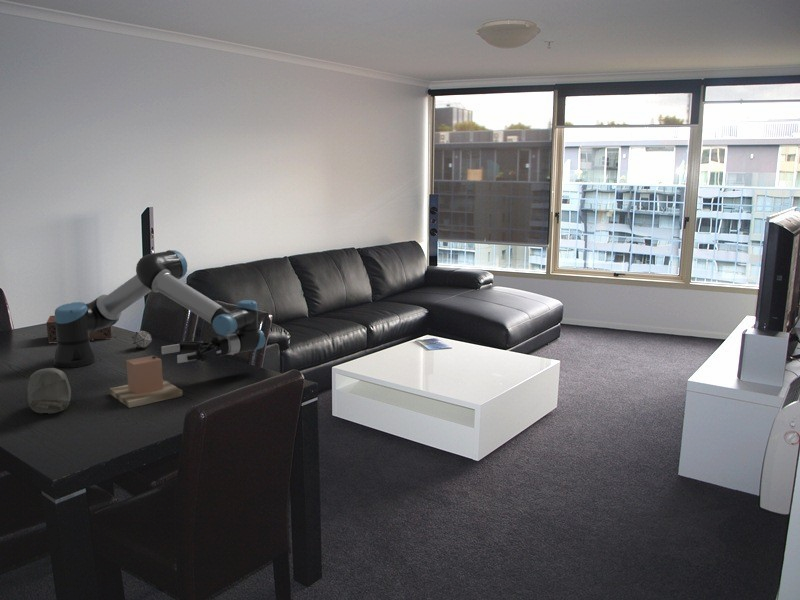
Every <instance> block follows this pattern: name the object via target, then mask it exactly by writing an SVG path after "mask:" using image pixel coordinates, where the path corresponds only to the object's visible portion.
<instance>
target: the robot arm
mask: <svg viewBox="0 0 800 600" xmlns="http://www.w3.org/2000/svg"><path fill="white" fill-rule="evenodd" d="M135 271H136V272H135V273H136V274H135V275H134V276H132V277H131V278H129V279H128V280H127V281H126V282H124V283H123V284H121V285H119V286H118V287H117V288H116V289H114V290H113V291H111V292H110V293H109V294H102V295H99V296H98V297H96V298H95V299H94V300H92V301H90V302H88V303H85V302H80V301H79V302H78V301H77V302H76V301H74V302H71V303H65V304H62V305H59V306H58V307H56V308H55V310H54V316H55V318H54V320H55V327H56V336H57V343H56V344H57V345H56V351H55V354H54V358H53V365H54V366H55V365H56V366H55V367H57V366H58V367H57V368H62V367H66V368H67V369H68V368H69V367H71V368H78V367H84V366H88V365H89V366H90V365H92V364H95V362H96V361H97V355H96V353H95V350H94V349H93V346H92V344H91V341H90V338H89V333H90V332H93V331H97V330H100V329H103V328H108V327H111V326H112V327H113V326H114V325H115V324H116V323H118V321H119V320H120V318H121V316H122V312H124V311H125V310H126V309H128V308H129V307H130V306H132V305H133V304H135V303H136V302H138V301H139V300H140V299H142V298H144V297H145V296H146V295H148V294H149V293H151V292H154V293H160V294H162V295H164V296H166V297H167V298H169V300H172V301H173V302H176V303H177V304H179V306H181V307H184V308H185V309H186V310H188V311H190V312H191V313H193V314H195V315H197V316H198V317H199V318H201V319H203V320H204V321H206V322H208V323H209V324H211V325H212V329H213V330H214V332H215V334H217V336H213V338H212V339H211V341H210V342H209V341H206V340H204V339H203V340H194V341H193V340H192V341H189V340H188V341H177V344H169V345H163V346H161V347H160V349H161V350H160V351H161V352H160V353H161V355H166V354H167V355H168V354H173V353H181V351H192V352H189V353H181V354H177V355H176V362H177V364H182V363H186V362H194V361H201V362H204V361H207V360H209V359H212V358H214V357H225V356H227V355H229V356H230V355H231V356H234V355H235V354H239V353H240V354H241V353H245V352H252V351H256V350H260V349H263V348H264V346H265V344H266V337H265V333H264V331H262V330H261V329H259V309H258V302H257V301H256V300H253V299H243V300H239V301H238V302H237V305H236V309H233V310H230V309H227V308H226V307H224V306H222V305H220V304H219V303H218V302H216V301H214V300H212V299H211V298H209V297H208V296H206V295H204V294H203V293H201V292H200V291H198V290H197V289H194V288H193V287H192V286H189V285H188V284H187V283H185V282H183V281H182V280H180V279H182V278H184V277H185V276H186V275H187V272H188V261H187V260H186V257H185V256H184V254H182V253H181V252H179V251H177V250H173V249H172V250H170V249H169V250H166V251H162V252H161V251H160V252H154V253H148V254H145V255H144V256H142V257H141V258H139V260H138V262H137V263H136V266H135ZM66 368H65V369H66Z"/></svg>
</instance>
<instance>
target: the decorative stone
mask: <svg viewBox="0 0 800 600" xmlns="http://www.w3.org/2000/svg"><path fill="white" fill-rule="evenodd" d="M71 397H72V388H71V384H70V382H69V379H68V377H67V374H66V373H65V371H63V370H61V369H58V368H55V367H47V368H46V367H45V368H41V369H39V370H38V369H37V370H35V372H33V373H32V374H31V375H30V377H29V380H28V383H27V403H28V405H29V408H30V409H31V410H32V411H33V412H35V413H38V414H43V413H48V414H56V413H59V412H60V413H61V412H62V411H64V410H66V409H67V408H68V406H69V405H70V402H71Z"/></svg>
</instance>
